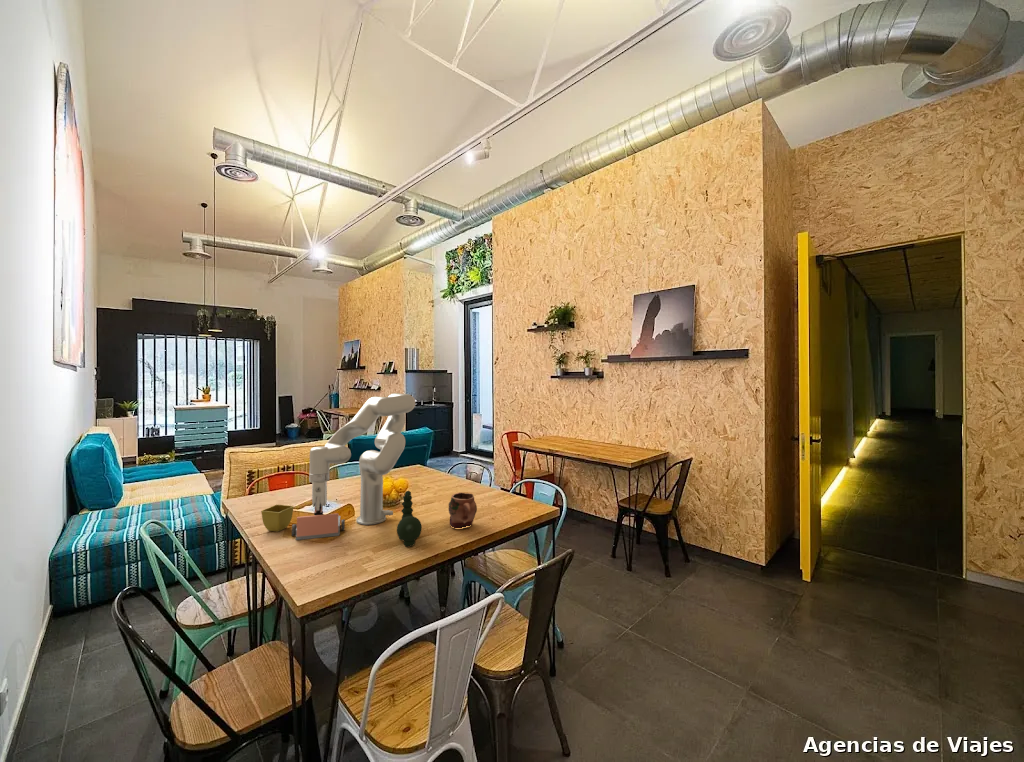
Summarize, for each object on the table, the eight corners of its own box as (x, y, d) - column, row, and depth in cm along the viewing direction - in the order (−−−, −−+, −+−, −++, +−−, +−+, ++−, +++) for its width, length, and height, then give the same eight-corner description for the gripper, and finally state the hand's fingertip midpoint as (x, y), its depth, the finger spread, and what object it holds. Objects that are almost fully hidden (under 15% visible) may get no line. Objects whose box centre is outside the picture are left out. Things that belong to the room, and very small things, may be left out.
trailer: (295, 526, 181) (295, 516, 181) (344, 522, 188) (345, 512, 188) (290, 540, 166) (290, 529, 166) (344, 535, 173) (344, 524, 173)
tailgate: (296, 537, 166) (296, 517, 166) (338, 533, 172) (339, 513, 172) (295, 538, 166) (296, 517, 165) (338, 534, 171) (339, 514, 171)
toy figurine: (395, 534, 179) (397, 553, 155) (396, 489, 181) (397, 500, 157) (418, 532, 182) (423, 550, 158) (418, 488, 183) (423, 499, 159)
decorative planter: (484, 532, 179) (485, 500, 179) (457, 537, 173) (458, 503, 173) (466, 518, 196) (466, 488, 196) (441, 522, 190) (441, 491, 190)
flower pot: (278, 534, 173) (279, 512, 173) (260, 532, 174) (260, 510, 174) (293, 526, 181) (294, 505, 181) (276, 525, 183) (276, 504, 183)
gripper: (328, 480, 168) (327, 526, 168) (330, 472, 182) (329, 515, 182) (307, 482, 165) (306, 528, 165) (311, 473, 179) (310, 516, 179)
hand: (318, 521), depth 174 cm, fingers closed
